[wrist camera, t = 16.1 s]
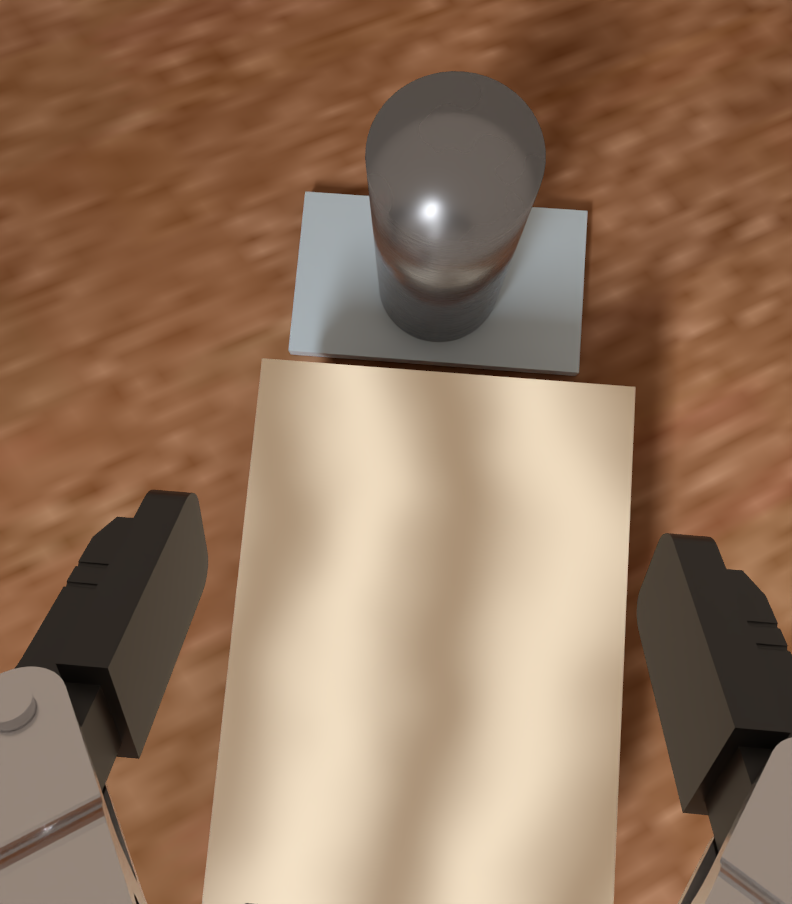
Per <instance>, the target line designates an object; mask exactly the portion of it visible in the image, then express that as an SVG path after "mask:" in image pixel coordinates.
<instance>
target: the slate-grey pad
mask: <svg viewBox="0 0 792 904" xmlns="http://www.w3.org/2000/svg"><path fill="white" fill-rule="evenodd" d="M587 212H588V211H583V210H568V209H554V208H539V207H532V209H531V211H530V214H529V216H528V219H527V222H526V224H525V227H524V229H523V232H522V235H521V237H520V240H519V243H518V245H517V248H516V250H515V253H514V256H513V258H512V261H511V264H510V266H509V269H508V271H507V274H506V277H505V279H504V282H503V285H502V287H501V290H500V292H499V295H498V298H497V300H496V303H495V305H494V308H493V310H492V312H491V313H490V315H489V317H488V318H487V319H486V320H485V322H484V323H483V324H482V325H481V326H480V327H479V328H478V329H476V330H475V331H473V332H472V333H470V334H469V335H467V336H465V337H462V338H460V339H457V340H453V341H448V342H430V341H424V340H421V339H418V338H415V337H413V336H411V335H409V334H407V333H406V332H404V331H403V330H401V329H400V328H399V327H398V326H397V325H396V324H395V323H394V322H393V321H392V320H391V319H390V317H389V316H388V314H387V313H386V311H385V309H384V307H383V304H382V302H381V298H380V293H379V284H378V274H377V265H376V255H375V246H374V237H373V227H372V218H371V208H370V199H369V196H362V195H348V194H333V193H318V192H305V200H304V209H303V218H302V228H301V237H300V247H299V256H298V266H297V275H296V285H295V294H294V303H293V313H292V322H291V332H290V341H289V352H290V354H292V355H306V356H319V357H332V358H345V359H358V360H371V361H384V362H398V363H411V364H424V365H437V366H450V367H463V368H476V369H490V370H503V371H516V372H529V373H542V374H555V375H568V376H576V375H577V374H578V373H579V363H580V344H581V325H582V306H583V287H584V269H585V250H586V231H587Z"/></svg>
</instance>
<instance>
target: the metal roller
mask: <svg viewBox="0 0 792 904" xmlns="http://www.w3.org/2000/svg"><path fill="white" fill-rule="evenodd" d="M365 160H366V170H367V180H368V189H369V199H370V208H371V218H372V227H373V237H374V246H375V255H376V265H377V274H378V284H379V293H380V298H381V302H382V304H383V307H384V309H385V311H386V313H387V314H388V316H389V317H390V319H391V320H392V321H393V322H394V323H395V324H396V325H397V326H398V327H399V328H400V329H401V330H403V331H404V332H406V333H407V334H409V335H411V336H413V337H415V338H418V339H421V340H424V341H430V342H448V341H453V340H457V339H460V338H462V337H465V336H467V335H469V334H470V333H472V332H473V331H475V330H476V329H478V328H479V327H480V326H481V325H482V324H483V323H484V322H485V320H486V319H487V318H488V317H489V315H490V313H491V312H492V310H493V308H494V305H495V303H496V300H497V298H498V295H499V292H500V290H501V287H502V285H503V282H504V279H505V277H506V274H507V271H508V269H509V266H510V264H511V261H512V258H513V256H514V253H515V250H516V248H517V245H518V243H519V240H520V237H521V235H522V232H523V229H524V227H525V224H526V222H527V219H528V216H529V214H530V211H531V209H532V206H533V203H534V201H535V198H536V195H537V193H538V190H539V188H540V185H541V182H542V178H543V175H544V169H545V163H546V151H545V143H544V138H543V134H542V131H541V128H540V126H539V123H538V121H537V119H536V117H535V116H534V114H533V112H532V111H531V109H530V108H529V107H528V105H527V104H526V103H525V102H524V101H523V100H522V99H521V98H520V97H519V96H518V95H517V94H516V93H515V92H514V91H512V90H511V89H509V88H508V87H507V86H505V85H503V84H502V83H500V82H498V81H496V80H494V79H491V78H489V77H486V76H483V75H479V74H475V73H469V72H456V71H451V72H440V73H436V74H431V75H428V76H425V77H422V78H419V79H417V80H415V81H413V82H411V83H409V84H407V85H406V86H404V87H403V88H401V89H400V90H398V91H397V92H396V93H395V94H394V95H393V96H391V97H390V98H389V99H388V100H387V102H386V103H385V104H384V105H383V106H382V108H381V109H380V111H379V112H378V114H377V115H376V117H375V119H374V121H373V123H372V125H371V128H370V131H369V134H368V138H367V143H366V154H365Z"/></svg>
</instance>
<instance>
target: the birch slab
mask: <svg viewBox="0 0 792 904" xmlns="http://www.w3.org/2000/svg"><path fill="white" fill-rule="evenodd" d="M635 389H636V387H630V386H617V385H604V384H591V383H578V382H564V381H551V380H538V379H525V378H512V377H499V376H486V375H473V374H460V373H447V372H434V371H420V370H407V369H394V368H381V367H368V366H355V365H342V364H329V363H316V362H303V361H290V360H276V359H263V358H262V364H261V374H260V383H259V392H258V401H257V410H256V419H255V428H254V437H253V446H252V455H251V464H250V473H249V482H248V491H247V500H246V509H245V518H244V527H243V537H242V546H241V555H240V564H239V573H238V582H237V591H236V600H235V609H234V618H233V627H232V636H231V645H230V654H229V663H228V672H227V681H226V691H225V700H224V709H223V718H222V727H221V736H220V745H219V754H218V763H217V772H216V781H215V790H214V799H213V808H212V817H211V826H210V835H209V844H208V854H207V863H206V872H205V881H204V890H203V899H202V904H245V903H252V904H613V902H614V879H615V855H616V832H617V809H618V785H619V762H620V739H621V715H622V692H623V669H624V645H625V622H626V599H627V575H628V552H629V529H630V505H631V482H632V459H633V435H634V412H635Z"/></svg>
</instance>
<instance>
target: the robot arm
mask: <svg viewBox="0 0 792 904" xmlns="http://www.w3.org/2000/svg"><path fill="white" fill-rule="evenodd" d="M78 562H79V564H78V566H76V567H75V568H74V570H73V572H72V573H71V575H70V577H69V578H68V580H67V585H66V587H63V589H62V590H61V592H60V594H59V596H58V597H57V599H56V601H55V602H54V604H53V606H52V607H51V609H50V611H49V613H48V614H47V616H46V618H45V619H44V621H43V623H42V625H41V626H40V628H39V630H38V631H37V633H36V635H35V637H34V638H33V640H32V642H31V643H30V645H29V647H28V648H27V650H26V652H25V654H24V655H23V657H22V659H21V660H20V662H19V663H18V665H17V666H16V667H15V669H12V670H9V671H6V672H3V673H1V674H0V904H147V903H146V900H145V897H144V894H143V891H142V889H141V886H140V883H139V880H138V877H137V874H136V871H135V868H134V865H133V862H132V859H131V856H130V853H129V850H128V847H127V844H126V841H125V838H124V835H123V832H122V829H121V826H120V823H119V819H118V816H117V813H116V810H115V807H114V804H113V801H112V798H111V795H110V792H109V789H108V786H107V784H106V780H107V778H108V775H109V773H110V771H111V768H112V766H113V763H114V761H115V758H116V756H117V757H127V758H138V759H139V758H140V755H141V753H142V750H143V748H144V745H145V742H146V740H147V737H148V734H149V732H150V729H151V726H152V724H153V721H154V719H155V716H156V713H157V711H158V708H159V705H160V703H161V700H162V697H163V695H164V692H165V690H166V687H167V684H168V682H169V679H170V676H171V674H172V671H173V668H174V666H175V663H176V661H177V658H178V655H179V653H180V650H181V647H182V645H183V642H184V639H185V637H186V634H187V631H188V629H189V626H190V624H191V621H192V618H193V616H194V613H195V610H196V608H197V605H198V602H199V600H200V597H201V595H202V592H203V589H204V586H205V582H206V577H207V570H208V553H207V547H206V541H205V535H204V529H203V524H202V518H201V512H200V506H199V501H198V498H197V496H196V494H195V493H187V492H175V491H162V490H150V491H149V492H148V493H147V494H146V496H145V498H144V499H143V501H142V503H141V505H140V507H139V509H138V511H137V512H136V514H135V516H134V518H125V517H116V518H115V519H114V520H113V521H111V522H110V523H109V524H108V525H107V526H105V527H104V528H103V529H102V530H101V531H99V532H98V533H97V534H96V535H95V536H93V537H92V539H91V541H90V543H89V544H88V546H87V548H86V549H85V551H84V553H83V555H82V556H81V558H80V560H79V561H78ZM637 624H638V630H639V634H640V638H641V642H642V646H643V650H644V655H645V659H646V663H647V667H648V671H649V675H650V679H651V683H652V688H653V692H654V696H655V700H656V704H657V708H658V712H659V716H660V720H661V725H662V729H663V733H664V737H665V741H666V745H667V749H668V753H669V758H670V762H671V766H672V770H673V774H674V778H675V782H676V786H677V791H678V795H679V799H680V803H681V807H682V811H683V813H691V814H702V815H709V819H710V823H711V826H712V830H713V834H714V836H713V837H712V839H711V840H710V842H709V843H708V845H707V847H706V849H705V851H704V853H703V855H702V857H701V859H700V861H699V863H698V865H697V867H696V869H695V871H694V873H693V875H692V877H691V879H690V881H689V883H688V884H687V886H686V888H685V890H684V892H683V894H682V896H681V898H680V900H679V902H678V904H792V655H791V652H789V651H787V643H786V641H785V639H784V637H783V634H782V632H781V630H780V629H778V628H777V624H778V623H777V621H776V618H775V616H774V614H773V611H772V609H771V607H770V605H769V602H768V600H767V598H766V596H765V594H764V593H763V592H762V591H761V590H760V589H759V588H758V587H757V586H756V585H755V584H754V583H753V582H752V580H751V579H750V578H749V577H748V576H747V575H746V574H745V573H744V572H743V571H742V570H730V569H726V567H725V565H724V562H723V559H722V557H721V554H720V552H719V549H718V547H717V545H716V543H715V541H714V540H713V539H712V538H711V537H705V536H693V535H681V534H669V533H665V534H663V535H662V536H661V538H660V540H659V542H658V544H657V547H656V550H655V552H654V555H653V558H652V560H651V563H650V565H649V568H648V571H647V573H646V576H645V579H644V581H643V584H642V586H641V589H640V592H639V596H638V601H637ZM245 904H252V903H245Z"/></svg>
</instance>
